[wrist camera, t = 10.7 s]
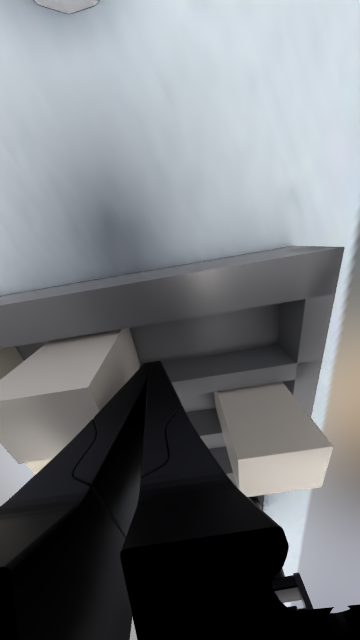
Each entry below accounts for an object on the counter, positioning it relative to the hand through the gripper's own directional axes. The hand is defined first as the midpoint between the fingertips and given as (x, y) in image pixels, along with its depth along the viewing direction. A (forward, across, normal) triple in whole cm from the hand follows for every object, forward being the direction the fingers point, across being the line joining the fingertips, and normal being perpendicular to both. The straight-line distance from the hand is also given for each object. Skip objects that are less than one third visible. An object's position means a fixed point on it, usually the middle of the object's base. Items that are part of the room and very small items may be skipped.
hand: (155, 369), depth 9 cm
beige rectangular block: (+3, -5, +5) cm, 8 cm away
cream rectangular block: (+3, +4, 0) cm, 5 cm away
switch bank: (+4, +1, +5) cm, 7 cm away
